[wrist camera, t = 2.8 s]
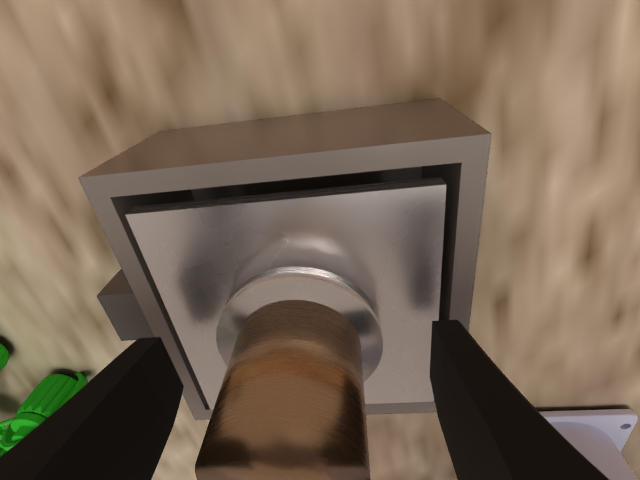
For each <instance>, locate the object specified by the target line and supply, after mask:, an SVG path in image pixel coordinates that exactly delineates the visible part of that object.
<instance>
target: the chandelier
mask: <svg viewBox="0 0 640 480" xmlns="http://www.w3.org/2000/svg"><path fill="white" fill-rule="evenodd" d="M8 359H9V353H8V351H7V349H6V348H5V347H4V346H3V345H2V344H0V370H1V369H2V368H3V367H4V366H5V365H6V364H7V361H8ZM73 375H75V376H76V377H77V378H78V381H76V380H75V379H73V378H71V377H69V376H66V375H63V374H53V375H51V376H48V377H46V378H45V379H44V380H42V381H41V383H40V384H39V385H38V386H37V387H36V389H35V390H34V391H33V392H32V393H31V394H30V396H29V397H28V398H27V399H26V400H25V402H24V403H23V404H22V405H21V406H20V407H19V409H18V412H17V414H16V417H14V418H12V419H9V420H6V421H3V422H0V438H2V441H1V440H0V457H1V456H2V455H3V454H5V453H6V452H7V451H8V450H10V449H11V448H12V447H13V446H15V445H16V444H17V443H18V442H19V441H21V440H22V439H23V438H24V437H25V436H27V435H28V434H29V433H30V432H31V431H33V430H34V429H35V428H36V427H37V426H39V425H40V424H41V423H42V422H43V421H45V420H46V419H47V418H48V417H49V416H51V415H52V414H53V413H54V412H55V411H57V410H58V409H59V408H60V407H61V406H62V405H63V404H65V403H66V402H67V401H68V400H69V399H70V398H71V397H73V396H74V395H75V394H76V393H77V392H78V391H79V390H80V389H82V388H83V387H84V386H85V385H86V384H87V383H88V380H87V378H86V377H85V376H84V375H82V374H81V373H80V372H78V373H75V374H73ZM67 380H68V381H67ZM60 389H61V390H60ZM8 424H9V426H8V427H7V429H6V428H5V427H4V426H5V425H8Z"/></svg>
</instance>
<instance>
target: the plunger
mask: <svg viewBox="0 0 640 480" xmlns="http://www.w3.org/2000/svg"><path fill="white" fill-rule="evenodd" d="M446 185H447V184H446V183H445V182H444V180H443V179H442V177H435V178H425V179H415V180H404V181H394V182H384V183H373V184H363V185H352V186H342V187H332V188H321V189H311V190H301V191H290V192H280V193H269V194H259V195H249V196H238V197H228V198H218V199H207V200H197V201H187V202H176V203H166V204H155V205H145V206H135V207H134V208H132V209H131V210H130V211H129V212H128V213H127V214H126V215H125V216H126V218H127V220H128V222H129V225H130V227H131V229H132V232H133V234H134V236H135V238H136V241H137V243H138V245H139V248H140V250H141V252H142V254H143V257H144V259H145V261H146V264H147V266H148V268H149V270H150V273H151V275H152V277H153V280H154V282H155V284H156V286H157V289H158V291H159V293H160V295H161V298H162V300H163V302H164V305H165V307H166V309H167V311H168V314H169V316H170V318H171V321H172V323H173V325H174V327H175V330H176V332H177V334H178V337H179V339H180V341H181V343H182V346H183V348H184V350H185V353H186V355H187V357H188V359H189V362H190V364H191V366H192V369H193V371H194V373H195V375H196V378H197V380H198V382H199V384H200V387H201V389H202V391H203V394H204V396H205V398H206V400H207V403H208V405H209V407H210V410H213V412H212V415H211V419H210V422H209V425H208V428H207V431H206V434H205V437H204V440H203V443H202V446H201V449H200V452H199V455H198V458H197V461H196V464H195V473H196V477H197V480H370V467H369V453H368V439H367V425H366V410H365V404H383V403H411V402H434V395H433V391H432V386H431V381H430V355H431V335H432V321H438V320H439V303H440V287H441V270H442V253H443V236H444V219H445V202H446Z"/></svg>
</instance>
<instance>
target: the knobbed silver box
mask: <svg viewBox="0 0 640 480" xmlns="http://www.w3.org/2000/svg"><path fill="white" fill-rule="evenodd" d="M490 142H491V133H490V132H488V131H487V130H485V129H484V128H483V127H481V126H480V125H478V124H477V123H475V122H474V121H472V120H471V119H469V118H468V117H467V116H465V115H464V114H462V113H461V112H459V111H458V110H456V109H455V108H453V107H452V106H450V105H449V104H448V103H446V102H445V101H443V100H442V99H440V98H438V99H429V100H421V101H412V102H404V103H395V104H387V105H378V106H370V107H361V108H353V109H344V110H336V111H327V112H319V113H310V114H302V115H293V116H285V117H276V118H268V119H259V120H251V121H242V122H234V123H225V124H217V125H209V126H200V127H192V128H183V129H175V130H166V131H159V132H157V133H156V134H154V135H152V136H150V137H149V138H147V139H145V140H143V141H142V142H140V143H138V144H136V145H135V146H133V147H131V148H129V149H128V150H126V151H124V152H122V153H120V154H119V155H117V156H115V157H113V158H112V159H110V160H108V161H106V162H105V163H103V164H101V165H99V166H98V167H96V168H94V169H92V170H91V171H89V172H87V173H85V174H84V175H82V176H80V177H78V179H79V181H80V183H81V185H82V187H83V189H84V191H85V193H86V195H87V197H88V200H89V202H90V204H91V206H92V208H93V210H94V212H95V214H96V216H97V218H98V220H99V222H100V224H101V226H102V228H103V231H104V233H105V235H106V237H107V239H108V241H109V243H110V245H111V247H112V249H113V251H114V253H115V255H116V257H117V260H118V262H119V264H120V266H121V268H122V269H121V270H120V271H119V272H118V273H117V274H116V275H115V276H114V277H113V278H112V280H111V281H110V282H109V283H108V284H107V285H106V286H105V287H104V288H103V289H102V291H101V292H100V293H99V294H98V295H97V298H98V299H99V301H100V303H101V305H102V307H103V308H104V310H105V312H106V314H107V316H108V317H109V319H110V321H111V323H112V325H113V327H114V328H115V330H116V332H117V334H118V336H119V337H120V339H121V341H125V340H138V339H139V338H150V337H161V339H162V341H163V343H164V346H165V348H166V350H167V352H168V354H169V356H170V358H171V360H172V362H173V364H174V367H175V369H176V371H177V373H178V375H179V377H180V379H181V381H182V383H183V385H184V388H183V392H182V394H183V396H184V398H185V400H186V402H187V404H188V407H189V409H190V411H191V413H192V415H193V417H194V419H195V420H208V419H211V415H212V412H213V410H210V407H209V405H208V403H207V400H206V398H205V396H204V394H203V391H202V389H201V387H200V384H199V382H198V380H197V378H196V375H195V373H194V371H193V369H192V366H191V364H190V362H189V359H188V357H187V355H186V353H185V350H184V348H183V346H182V343H181V341H180V339H179V337H178V334H177V332H176V330H175V327H174V325H173V323H172V321H171V318H170V316H169V314H168V311H167V309H166V307H165V305H164V302H163V300H162V298H161V295H160V293H159V291H158V289H157V286H156V284H155V282H154V280H153V277H152V275H151V273H150V270H149V268H148V266H147V264H146V261H145V259H144V257H143V254H142V252H141V250H140V248H139V245H138V243H137V241H136V238H135V236H134V234H133V232H132V229H131V227H130V225H129V222H128V220H127V218H126V216H125V215H126V214H127V213H128V212H129V211H130V210H131V209H132V208H134V207H135V206H145V205H155V204H166V203H176V202H187V201H197V200H207V199H218V198H228V197H238V196H249V195H259V194H269V193H280V192H290V191H301V190H311V189H321V188H332V187H342V186H352V185H363V184H373V183H384V182H394V181H404V180H415V179H425V178H435V177H442V179H443V180H444V182H445V183H446V184H447V185H446V202H445V219H444V236H443V253H442V270H441V287H440V303H439V320H438V321H441V320H458V321H460V322H461V323H462V324H463V326H464V327H465V328H466V330H467V331H469V322H470V314H471V305H472V296H473V288H474V279H475V271H476V262H477V254H478V245H479V237H480V228H481V219H482V211H483V202H484V194H485V185H486V177H487V168H488V160H489V151H490ZM365 410H366V414H395V413H427V412H437V410H436V405H435V400H434V402H411V403H383V404H365Z"/></svg>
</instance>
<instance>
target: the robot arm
mask: <svg viewBox="0 0 640 480" xmlns="http://www.w3.org/2000/svg"><path fill="white" fill-rule="evenodd" d="M430 381H431V386H432V391H433V395H434V400H435V405H436V410H437V414H438V418H439V421H440V425H441V428H442V431H443V434H444V437H445V440H446V444H447V447H448V450H449V453H450V456H451V459H452V463H453V466H454V469H455V472H456V475H457V478H458V480H638V478H637V477H636V475H635V474H634V472H633V471H632V469H631V468H630V466H629V465H628V463H627V462H626V460H625V459H624V457H623V456H622V454H621V451H622V449H623V447H624V445H625V443H626V441H627V440H628V438H629V436H630V434H631V432H632V430H633V428H634V426H635V424H636V423H637V421H638V416H637V415H636V414H635V413H634V411H633V410H631V409H606V410H574V411H543V412H538V411H537V410H536V409H535V408H534V406H533V405H532V404H531V403H530V402H529V401H528V400H527V399H526V398H525V397H524V396H523V395H522V394H521V393H520V392H519V390H518V389H517V388H516V387H515V386H514V385H513V384H512V383H511V382H510V381H509V380H508V378H507V377H506V376H505V375H504V374H503V373H502V372H501V371H500V369H499V368H498V367H497V366H496V365H495V364H494V363H493V361H492V360H491V359H490V358H489V357H488V355H487V354H486V353H485V352H484V351H483V350H482V348H481V347H480V346H479V345H478V343H477V342H476V341H475V340H474V338H473V337H472V336H471V335H470V333H469V332H468V331H467V330H466V328H465V327H464V326H463V324H462V323H461V322H460V321H458V320H441V321H432V335H431V355H430ZM183 388H184V385H183V383H182V381H181V379H180V377H179V375H178V373H177V371H176V369H175V367H174V364H173V362H172V360H171V358H170V356H169V354H168V352H167V350H166V348H165V346H164V343H163V341H162V339H161V337H150V338H139V339H138V340H136V341H135V342H134V343H133V344H132V345H130V346H129V347H128V348H127V349H126V350H124V351H123V352H122V353H121V354H120V355H119V356H118V357H116V358H115V359H114V360H113V361H112V362H111V363H110V364H109V365H107V366H106V367H105V368H104V369H103V370H102V371H101V372H100V373H99V374H97V375H96V376H95V377H94V378H93V379H92V380H91V381H90V382H88V383H87V384H86V385H85V386H84V387H83V388H82V389H80V390H79V391H78V392H77V393H76V394H75V395H74V396H73V397H71V398H70V399H69V400H68V401H67V402H66V403H65V404H63V405H62V406H61V407H60V408H59V409H58V410H57V411H55V412H54V413H53V414H52V415H51V416H49V417H48V418H47V419H46V420H45V421H43V422H42V423H41V424H40V425H39V426H37V427H36V428H35V429H34V430H33V431H31V432H30V433H29V434H28V435H27V436H25V437H24V438H23V439H22V440H21V441H19V442H18V443H17V444H16V445H15V446H13V447H12V448H11V449H10V450H8V451H7V452H6V453H5V454H3V455H2V456H1V457H0V480H151V479H152V476H153V474H154V471H155V469H156V467H157V464H158V462H159V459H160V457H161V455H162V452H163V450H164V447H165V445H166V442H167V440H168V437H169V435H170V432H171V430H172V427H173V425H174V421H175V418H176V414H177V411H178V408H179V404H180V400H181V396H182V392H183Z"/></svg>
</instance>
